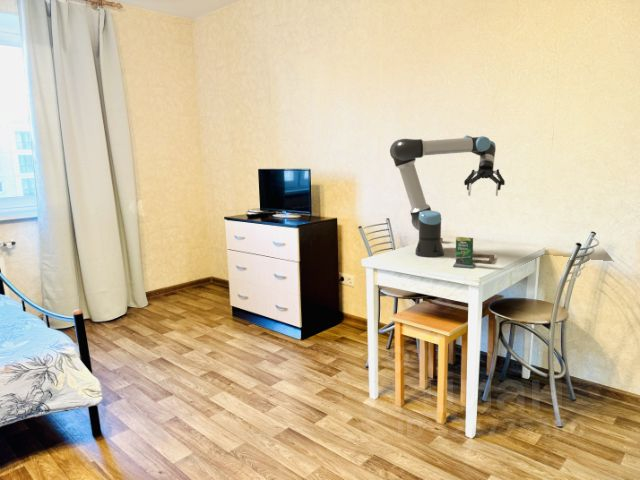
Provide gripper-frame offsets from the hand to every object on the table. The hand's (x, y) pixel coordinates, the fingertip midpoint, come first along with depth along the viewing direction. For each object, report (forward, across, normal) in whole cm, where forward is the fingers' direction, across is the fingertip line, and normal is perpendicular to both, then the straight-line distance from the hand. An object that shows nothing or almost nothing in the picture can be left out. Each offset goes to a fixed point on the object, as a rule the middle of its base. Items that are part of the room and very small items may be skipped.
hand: (482, 194), depth 231 cm
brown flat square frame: (+31, 0, -15) cm, 35 cm away
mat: (+42, +5, -4) cm, 43 cm away
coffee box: (+41, +5, -4) cm, 42 cm away
